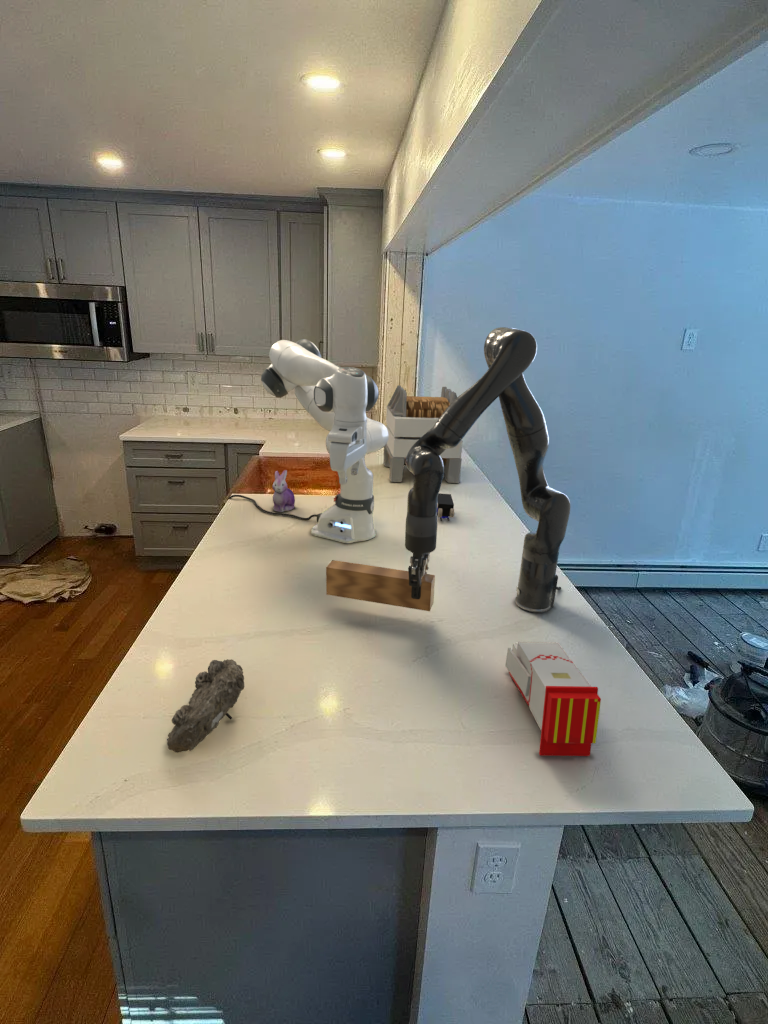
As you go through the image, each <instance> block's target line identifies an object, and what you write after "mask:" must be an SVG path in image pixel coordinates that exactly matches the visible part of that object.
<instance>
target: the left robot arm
mask: <svg viewBox="0 0 768 1024" xmlns="http://www.w3.org/2000/svg"><path fill="white" fill-rule="evenodd" d="M268 354H269V355H268V357H269V362H270V365H269V366H268V367H266V368H265V369H264V370H263V372H262V373H261V376H260V381H261V383H262V386H263V388H264V389H265V391H266V392H267V393H268V394H270V395H271V396H273V397H275V398H278V399H281V398H284V397H285V396H287V395H288V394H289V393H290V392H291V391H293V390H294V395H295V397H296V399H297V401H298V402H299V403H300V405H301V406H302V408H304V410H305V412H307V413H308V414H309V415H310V416H311V417H312V419H314V420H315V421H316V423H318V424H319V426H320V427H322V429H324V430H325V431H328V434H327V435H326V438H325V447H326V452H327V453H328V455H329V467H330V470H331V471H333V472H337V475H338V481H339V482H338V483H339V485H340V488H339V489H340V490H339V491H338V492H337V494H336V495H335V496H334V497H333V502H334V504H333V505H331V506H329V507H328V508H326V509H325V510H323V512H320V513H317V514H311V515H309V517H302V516H298V515H295V514H291V513H285V512H276V511H274V512H273V511H269V510H266V509H264V508H262V507H261V506H260V505H258V503H257V501H256V500H255V499H254V498H251V497H248V496H245V495H241V494H232V495H230V496H228V497H227V499H228V500H230V499H233V498H241V499H245V500H248V501H251V502H252V503H254V506H255V507H256V508H258V509H259V511H261V512H263V513H266V514H268V515H274V516H286V517H292V518H294V519H298V520H302V521H310V520H311V519H312V518H316V523H315V524H314V525H313V526H312V528H311V530H310V533H311V536H315V537H319V538H323V539H326V540H330V541H336V542H339V543H343V544H352V543H357V542H365V541H368V540H372V539H373V538H375V537H376V535H377V532H376V528H375V523H374V513H373V512H374V509H375V496H374V473H373V471H372V470H371V469H369V468H368V467H367V464H366V458H365V457H366V456H367V455H371V454H374V453H377V452H378V451H380V450H381V449H384V446H385V445H386V444H387V442H388V437H389V435H388V431H387V428H386V425H385V424H384V423H383V422H381V421H377V420H375V419H372V418H370V417H368V416H367V412H369V411H371V410H372V409H373V408H374V406H375V405H376V404H377V402H378V399H379V388H378V386H377V383H376V382H375V380H374V379H373V378H372V377H371V376H370V375H367V374H366V372H365V371H363V370H362V369H361V368H359V367H353V366H341V365H338V364H336V363H334V362H332V361H329V360H327V359H325V358H323V357H322V354H321V352H320V350H319V348H318V347H317V346H316V344H315V343H314V342H312V341H311V340H309V339H307V338H300V339H299V340H297V341H295V342H293V341H291V340H288V339H287V340H286V339H280V340H278V341H276V342H275V343H273V345H271V347H270V349H269V353H268Z"/></svg>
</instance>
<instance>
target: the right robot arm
mask: <svg viewBox="0 0 768 1024" xmlns="http://www.w3.org/2000/svg"><path fill="white" fill-rule="evenodd" d="M537 352H538V344H537V340H536V338H535V337H534V335H533V334H532V333H531V332H529V331H527V330H524V329H519V328H513V327H506V326H505V327H504V326H500V327H496V328H494V329H492V330H491V331H490V332H489V333H488V334H487V336H486V338H485V340H484V344H483V354H484V359H485V363H486V364H487V367H488V369H487V370H486V372H485V373H484V374H483V375H482V376H481V377H480V378H479V379H478V380H477V381H476V382H474V383H473V384H472V385H471V386H470V387H468V388H467V389H465V391H463V392H462V393H461V394H459V396H457V398H456V399H455V400H454V401H453V402H452V403H451V404H450V405H449V406H448V408H447V409H446V410H445V411H444V413H443V414H442V415H441V417H440V418H439V419H438V421H437V422H436V423H435V425H434V426H433V427H432V428H431V429H430V430H429V431H428V432H426V433H425V434H424V435H423V436H422V437H421V438H420V439H419V440H418V441H417V442H416V443H415V444H414V445H413V446H412V447H411V448H410V450H409V452H408V454H407V456H406V465H405V466H406V468H407V470H408V471H409V472H410V473H411V474H413V478H414V479H413V487H411V488H410V489H409V491H408V494H407V505H406V506H407V509H406V510H407V511H406V517H405V530H404V531H405V532H404V534H405V535H404V547H405V550H407V551H408V552H410V553H412V555H411V556H410V559H409V563H410V565H408V567H407V571H409V586H412V591H411V597H412V598H413V599H420V597H421V585H422V577H423V576H424V575H425V574H428V571H429V569H430V568H429V565H430V556H431V555H430V554H431V553H433V552H434V551H435V550H436V548H437V539H438V516H437V502H438V493H440V490H441V487H442V483H443V480H444V476H443V475H444V464H443V460H442V458H441V457H440V455H441V454H442V453H443V452H444V451H445V450H446V449H448V448H454V447H456V446H457V445H458V444H459V443H460V441H461V440H463V439H464V438H465V436H466V435H467V434H468V432H470V430H471V428H472V427H473V426H474V425H475V423H476V422H477V421H478V419H479V418H480V417H481V416H482V415H483V413H484V412H485V411H486V410H487V409H488V408H489V407H490V406H491V405H492V404H493V403H494V402H495V401H496V400H497V399H498V400H499V405H500V408H501V412H502V417H503V420H504V422H505V428H506V433H507V437H508V441H509V445H510V448H511V451H512V456H513V460H514V463H515V468H516V471H517V476H518V482H519V488H520V497H521V502H522V503H521V504H522V508H523V510H524V512H525V514H526V515H527V516H528V517H529V518H531V519H533V520H535V522H538V523H537V528H536V530H534V531H530V532H527V533H526V534H525V535H524V539H523V547H522V553H521V562H520V569H519V574H518V582H517V586H516V587H515V591H516V597H515V601H514V603H515V604H516V606H517V607H518V608H519V609H521V610H523V611H527V612H529V613H546V612H548V611H550V609H552V608H554V605H555V599H556V593H557V591H560V590H562V586H558V580H559V575H558V574H557V568H558V561H559V554H560V550H561V549H560V548H561V544H563V542H564V540H565V537H566V533H567V528H568V523H569V519H570V515H571V501H570V498H569V497H568V495H566V494H565V493H563V492H562V491H559V490H557V489H554V488H552V487H551V486H549V483H548V481H547V478H546V474H545V470H544V462H545V459H546V456H547V453H548V450H549V447H550V436H549V431H548V427H547V423H546V418H545V415H544V413H543V410H542V408H541V407H540V405H539V403H538V401H537V400H536V398H535V396H534V395H533V393H532V391H531V390H530V388H529V386H528V384H527V382H526V379H525V375H524V372H525V371H527V369H529V367H530V366H531V365H532V363H533V362H534V360H535V358H536V356H537ZM416 580H417V581H416Z"/></svg>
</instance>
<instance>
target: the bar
mask: <svg viewBox="0 0 768 1024" xmlns="http://www.w3.org/2000/svg"><path fill="white" fill-rule="evenodd" d="M416 581H417V580H416ZM325 583H326V585H325V586H326V587H325V589H326V595H327V596H333V597H339V598H344V599H345V598H346V599H352V600H357V601H364V602H371V603H375V604H382V605H388V606H395V607H401V608H406V609H413V610H418V611H425V612H431V610H432V608H433V605H434V603H435V601H434V600H435V587H436V586H435V584H436V575H435V574H430V573H427V574H425V575H424V576H423V577H422V585H421V597H420V599H413V598H412V597H411V591H412V586H409V571H408V570H404V569H396V568H389V567H384V566H383V567H382V566H376V565H370V564H369V565H368V564H363V563H356V562H349V561H342V560H334V559H332V560H331V561H330V562H329V563H328V564H327V566H325Z"/></svg>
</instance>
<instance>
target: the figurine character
mask: <svg viewBox="0 0 768 1024" xmlns="http://www.w3.org/2000/svg"><path fill="white" fill-rule="evenodd" d="M454 517H455V504H454V500H453V496H452V493H451V494H450V493H440V492H439V493H438V502H437V518H439V520H440V522H443V519H444V520H445V519H446V520H447V522H450V521H451V519H450V518H454Z"/></svg>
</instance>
